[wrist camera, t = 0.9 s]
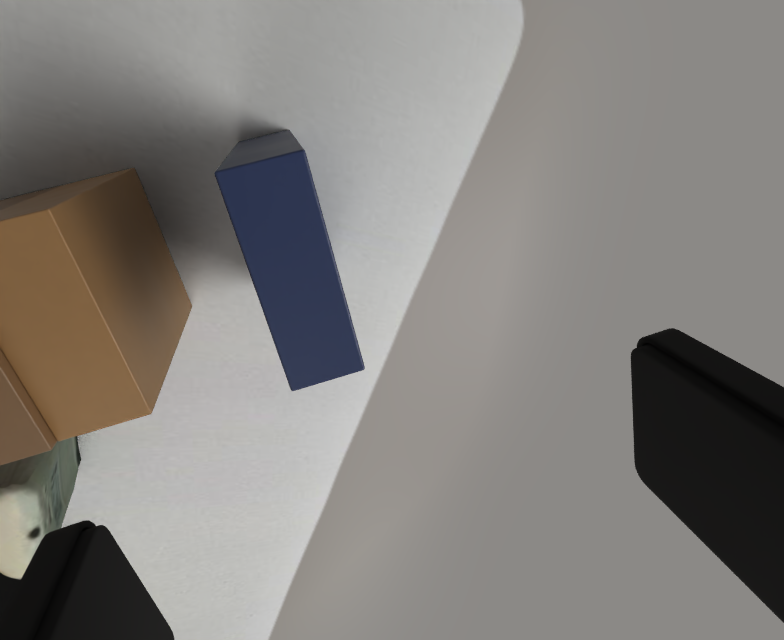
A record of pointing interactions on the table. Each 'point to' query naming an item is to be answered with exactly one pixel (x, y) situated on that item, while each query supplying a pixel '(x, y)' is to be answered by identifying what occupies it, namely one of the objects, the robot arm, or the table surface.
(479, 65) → the table surface
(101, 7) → the table surface
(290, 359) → the navy book
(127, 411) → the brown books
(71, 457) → the grey-green rounded box
